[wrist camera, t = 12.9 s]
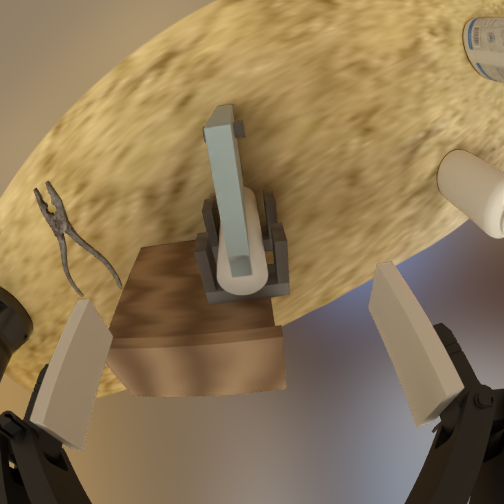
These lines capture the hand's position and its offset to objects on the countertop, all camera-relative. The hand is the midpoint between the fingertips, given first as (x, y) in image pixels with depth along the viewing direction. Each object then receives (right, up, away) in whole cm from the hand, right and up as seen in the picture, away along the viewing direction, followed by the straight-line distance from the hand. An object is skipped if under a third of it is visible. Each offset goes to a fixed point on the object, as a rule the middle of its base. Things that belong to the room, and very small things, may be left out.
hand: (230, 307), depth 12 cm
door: (-1, +12, +19) cm, 23 cm away
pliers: (-26, +3, +24) cm, 36 cm away
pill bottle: (+30, +14, +20) cm, 39 cm away
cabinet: (-5, +3, +25) cm, 26 cm away
